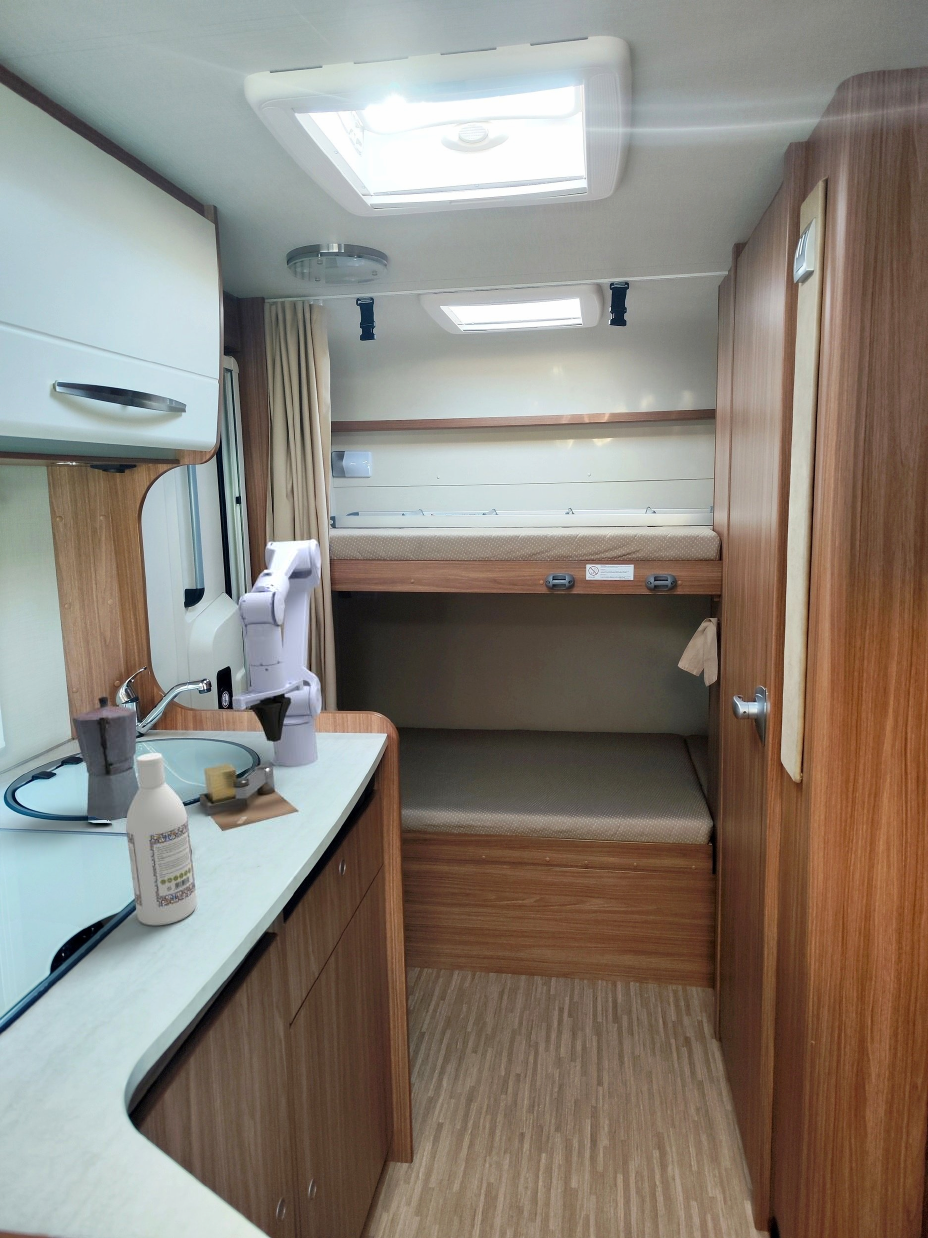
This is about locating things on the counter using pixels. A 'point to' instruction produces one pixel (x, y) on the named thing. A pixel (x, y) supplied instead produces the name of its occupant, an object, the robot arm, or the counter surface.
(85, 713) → the moka pot
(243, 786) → the crank
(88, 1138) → the counter surface
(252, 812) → the base
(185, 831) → the bath foam
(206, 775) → the block
